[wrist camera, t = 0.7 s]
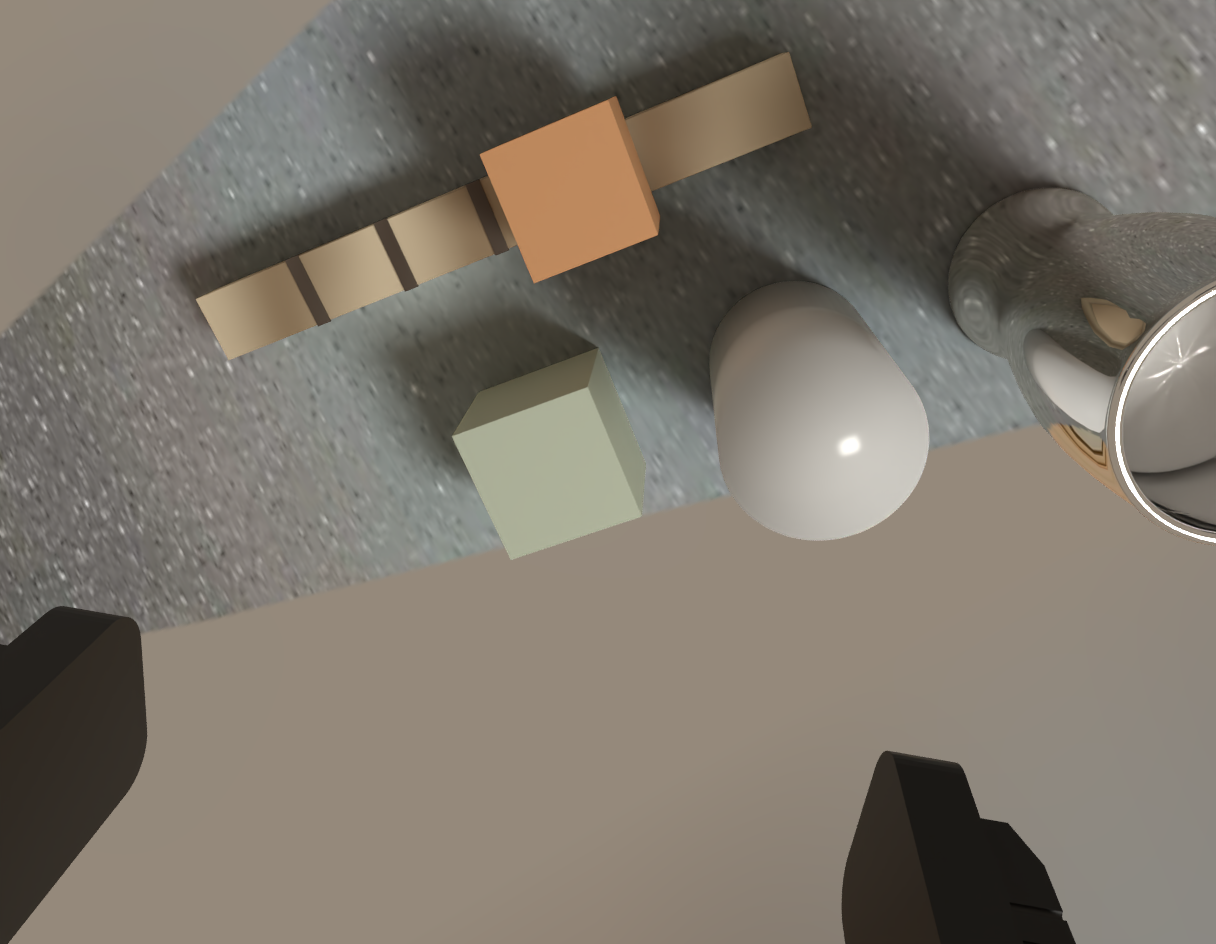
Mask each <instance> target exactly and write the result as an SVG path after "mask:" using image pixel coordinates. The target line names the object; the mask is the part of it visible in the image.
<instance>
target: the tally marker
mask: <svg viewBox="0 0 1216 944" xmlns="http://www.w3.org/2000/svg"><path fill="white" fill-rule="evenodd" d="M480 157H481V159H482V161H483V164H484V166H485V168H486V171H487V173H488V176H489V178H490V180H491V183H492V185H493V187H494V190H495V192H496V195H497V197H498V199H499V202H500V204H501V206H502V209H503V211H504V214H505V216H506V218H507V221H508V223H509V225H510V228H511V230H512V233H513V235H514V237H515V240H516V242H517V244H518V247H519V249H520V251H521V254H522V256H523V259H524V261H525V263H526V266H527V268H528V270H529V273H530V275H531V278H532V280H533V282H534V283H536V282H539V281H541V280H544V279H547V278H549V277H552V276H554V275H557V274H559V273H562V272H564V271H567V270H570V269H572V268H575V267H577V266H580V265H582V264H585V263H588V262H590V261H593V260H595V259H598V258H600V257H603V256H606V255H608V254H611V253H613V252H616V251H618V250H621V249H624V248H626V247H629V246H631V245H634V244H636V243H639V242H641V241H644V240H647V239H649V238H652V237H654V236H657V235H658V231H659V222H660V214H659V211H658V209H657V206H656V203H655V200H654V198H653V195H652V192H651V190H650V187H649V184H648V181H647V179H646V176H645V173H644V171H643V168H642V165H641V162H640V160H639V157H638V154H637V151H636V149H635V146H634V143H633V141H632V138H631V135H630V132H629V130H628V127H627V124H626V122H625V119H624V116H623V113H622V111H621V108H620V105H619V102H618V100H617V97H616V96H615V97H612V98H610V99H607V100H605V101H603V102H600V103H598V104H596V105H593V106H591V107H589V108H586V109H584V110H581V111H579V112H577V113H574V114H572V115H570V116H567V117H565V118H563V119H560V120H558V121H555V122H553V123H551V124H548V125H546V126H544V127H541V128H539V129H537V130H534V131H532V132H529V133H527V134H525V135H522V136H520V137H518V138H515V139H513V140H510V141H508V142H506V143H503V144H501V145H499V146H497V147H494V148H492V149H490V150H488V151H486V152H483V153H481V154H480Z"/></svg>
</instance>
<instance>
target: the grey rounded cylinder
mask: <svg viewBox="0 0 1216 944" xmlns="http://www.w3.org/2000/svg"><path fill="white" fill-rule="evenodd" d="M709 371H710V380H711V389H712V398H713V407H714V416H715V426H716V435H717V444H718V453H719V461H720V467H721V471H722V474H723V478H724V481H725V483H726V485H727V487H728V489H729V491H730V493H731V495H732V496H733V498H734V499H735V501H736V502H737V503H738V504H739V505H740V507H741V508H742V509H743V510H744V511H745V512H746V513H747V514H748V515H749V516H750V517H751V518H753V519H754V520H755V521H757V522H758V523H760V524H761V525H763V526H764V527H766V528H768V529H770V530H772V531H774V532H777V533H779V534H782V535H785V536H788V537H793V538H797V539H804V540H832V539H839V538H844V537H848V536H851V535H855V534H857V533H860V532H862V531H865V530H867V529H869V528H871V527H873V526H875V525H876V524H878V523H880V522H881V521H883V520H884V519H886V518H887V517H889V516H890V515H891V514H892V513H893V512H894V511H895V510H897V509H898V508H899V507H900V506H901V505H902V504H903V502H904V501H905V500H906V499H907V498H908V496H909V495H910V494H911V492H912V491H913V490H914V488H915V486H916V484H917V482H918V481H919V479H920V477H921V475H922V472H923V469H924V467H925V464H926V459H927V454H928V449H929V426H928V421H927V416H926V412H925V410H924V407H923V404H922V402H921V400H920V398H919V396H918V394H917V392H916V391H915V389H914V388H913V386H912V385H911V384H910V382H909V381H908V379H907V378H906V377H905V375H904V374H903V373H902V371H901V370H900V369H899V367H898V366H897V364H896V363H895V362H894V360H893V359H892V358H891V356H890V355H889V354H888V352H887V351H886V350H885V348H884V347H883V345H882V344H881V343H880V341H879V340H878V339H877V337H876V336H875V335H874V333H873V332H872V330H871V329H870V328H869V326H868V325H867V324H866V322H865V321H864V320H863V318H862V317H861V316H860V314H859V313H858V312H857V310H856V309H855V308H854V306H853V305H852V304H851V303H850V302H848V301H847V300H846V299H845V298H844V297H842V296H841V295H840V294H838V293H837V292H835V291H833V290H831V289H829V288H827V287H824V286H822V285H819V284H815V283H811V282H804V281H784V282H778V283H774V284H770V285H767V286H764V287H762V288H759V289H757V290H755V291H753V292H751V293H750V294H748V295H746V296H745V297H744V298H742V299H741V300H740V301H739V302H737V303H736V304H735V305H734V306H733V307H732V308H731V309H730V310H729V311H728V313H727V314H726V315H725V317H724V318H723V319H722V321H721V323H720V324H719V326H718V328H717V330H716V332H715V335H714V337H713V340H712V344H711V348H710V356H709Z"/></svg>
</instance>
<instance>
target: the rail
mask: <svg viewBox="0 0 1216 944" xmlns="http://www.w3.org/2000/svg"><path fill="white" fill-rule="evenodd" d="M625 122H626V124H627V127H628V130H629V132H630V135H631V138H632V141H633V143H634V146H635V149H636V151H637V154H638V157H639V160H640V162H641V165H642V168H643V171H644V173H645V176H646V179H647V181H648V184H649V187H650V190H651V191H654V190H656V189H659V188H661V187H664V186H666V185H669V184H671V183H674V182H676V181H679V180H681V179H684V178H686V177H689V176H691V175H694V174H696V173H699V172H701V171H704V170H706V169H709V168H711V167H714V166H716V165H719V164H721V163H724V162H726V161H729V160H731V159H734V158H736V157H739V156H741V155H744V154H746V153H749V152H751V151H754V150H756V149H759V148H761V147H764V146H766V145H769V144H771V143H774V142H776V141H779V140H781V139H784V138H786V137H789V136H791V135H794V134H796V133H799V132H801V131H804V130H806V129H809V128H812V126H811V122H810V119H809V116H808V113H807V109H806V106H805V103H804V99H803V96H802V93H801V90H800V86H799V83H798V80H797V76H796V73H795V70H794V67H793V63H792V60H791V57H790V53H789V52H785V53H781V54H778V55H776V56H774V57H771V58H769V59H766V60H764V61H762V62H759V63H757V64H755V65H752V66H750V67H747V68H745V69H743V70H740V71H738V72H735V73H733V74H731V75H728V76H726V77H723V78H721V79H719V80H716V81H714V82H711V83H709V84H707V85H704V86H702V87H699V88H697V89H695V90H692V91H690V92H687V93H685V94H683V95H680V96H678V97H675V98H673V99H671V100H668V101H666V102H663V103H661V104H659V105H656V106H654V107H651V108H649V109H647V110H644V111H642V112H639V113H637V114H635V115H632V116H630V117H627V118H625ZM516 245H518V244H517V242H516V240H515V237H514V235H513V233H512V230H511V228H510V225H509V223H508V221H507V218H506V216H505V214H504V211H503V209H502V206H501V204H500V202H499V199H498V197H497V195H496V192H495V190H494V187H493V185H492V183H491V180H490V178H489V176H486V177H484V178H481V179H479V180H476V181H474V182H472V183H469V184H467V185H464V186H462V187H460V188H457V189H455V190H452V191H450V192H448V193H445V194H443V195H440V196H438V197H436V198H433V199H431V200H428V201H426V202H424V203H421V204H419V205H416V206H414V207H412V208H409V209H407V210H404V211H402V212H400V213H397V214H395V215H392V216H390V217H388V218H385V219H383V220H380V221H378V222H376V223H373V224H371V225H368V226H366V227H364V228H361V229H359V230H356V231H354V232H352V233H349V234H347V235H344V236H342V237H340V238H337V239H335V240H333V241H330V242H328V243H325V244H323V245H321V246H318V247H316V248H313V249H311V250H309V251H306V252H304V253H301V254H299V255H297V256H294V257H292V258H289V259H287V260H285V261H282V262H280V263H277V264H275V265H273V266H270V267H268V268H265V269H263V270H261V271H258V272H256V273H253V274H251V275H249V276H246V277H244V278H241V279H239V280H237V281H234V282H232V283H229V284H227V285H225V286H222V287H220V288H218V289H216V290H214V291H212V292H210V293H207V294H205V295H203V296H201V297H199V298H197V299H196V301H197V303H198V305H199V306H200V308H201V310H202V312H203V314H204V316H205V317H206V319H207V321H208V323H209V325H210V327H211V328H212V330H213V332H214V334H215V336H216V338H217V339H218V341H219V343H220V345H221V347H222V349H223V350H224V352H225V354H226V356H227V358H228V360H231V359H233V358H236V357H238V356H241V355H243V354H246V353H248V352H251V351H253V350H256V349H258V348H261V347H263V346H266V345H268V344H271V343H273V342H276V341H278V340H281V339H283V338H286V337H288V336H291V335H293V334H296V333H298V332H301V331H303V330H306V329H308V328H311V327H313V326H316V325H318V326H320V325H323V324H325V323H328V322H330V321H331V319H333V318H336V317H338V316H341V315H343V314H346V313H348V312H351V311H353V310H356V309H358V308H361V307H363V306H366V305H368V304H371V303H373V302H376V301H378V300H381V299H383V298H386V297H388V296H391V295H393V294H396V293H398V292H401V291H403V290H405V291H408V290H410V289H413V288H415V287H418V284H421V283H423V282H426V281H428V280H431V279H433V278H436V277H438V276H441V275H443V274H446V273H448V272H451V271H453V270H456V269H458V268H461V267H463V266H466V265H468V264H471V263H473V262H476V261H478V260H481V259H483V258H486V257H488V256H491V255H493V254H495V255H498V254H501V253H503V252H506V251H508V250H509V248H511V247H514V246H516Z"/></svg>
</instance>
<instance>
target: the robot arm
mask: <svg viewBox="0 0 1216 944" xmlns="http://www.w3.org/2000/svg"><path fill="white" fill-rule="evenodd" d="M146 723H147V722H146V707H145V693H144V677H143V662H142V647H141V636H140V631H139V627H138V625H137V623H136V622H135V621H134V620H133V619H131V618H129V617H124V616H118V615H112V614H106V613H100V612H95V611H89V610H83V609H77V608H71V607H65V606H59V607H55V608H53V609H51V610H50V611H48V612H47V613H46V614H44V615H43V616H42V617H41V618H40V619H38V620H37V621H36V622H35V623H34V624H33V625H31V626H30V627H29V628H28V629H27V630H25V631H24V632H23V633H22V634H21V635H19V636H18V637H17V638H16V639H15V640H14V641H12V642H11V643H10V644H9V645H8V646H7V645H1V644H0V944H8V943H9V941H10V940H11V939H12V938H13V936H14V935H15V934H16V933H17V931H18V930H19V929H20V928H21V926H22V925H23V924H24V923H25V921H26V920H27V919H28V917H29V916H30V915H31V914H32V912H33V911H34V910H35V909H36V907H37V906H38V905H39V904H40V902H41V901H42V900H43V898H44V897H45V896H46V895H47V893H48V892H49V891H50V890H51V888H52V887H53V886H54V885H55V883H56V882H57V881H58V880H59V878H60V877H61V876H62V875H63V873H64V872H65V871H66V869H67V868H68V867H69V866H70V864H71V863H72V862H73V860H74V859H75V858H76V857H77V856H78V854H79V853H80V852H81V851H82V849H83V848H84V847H85V845H86V844H87V843H88V842H89V840H90V839H91V838H92V837H93V835H94V834H95V833H96V832H97V830H98V829H99V828H100V826H101V825H102V824H103V823H104V821H105V820H106V819H107V818H108V816H109V815H110V814H111V813H112V811H113V810H114V809H115V808H116V806H117V805H118V804H119V803H120V801H121V800H122V799H123V797H124V796H125V795H126V793H127V792H128V790H129V789H130V787H131V786H132V784H133V783H134V780H135V778H136V776H137V774H138V772H139V769H140V767H141V764H142V761H143V757H144V753H145V748H146V741H147V724H146ZM1062 912H1063V911H1062V908H1061V906H1060V903H1059V901H1058V899H1057V896H1056V893H1055V891H1054V889H1053V886H1052V884H1051V881H1050V879H1049V876H1048V874H1047V871H1046V869H1045V866H1044V865H1043V864H1042V863H1041V861H1040V860H1039V859H1038V858H1037V857H1036V855H1035V854H1034V853H1033V852H1032V851H1031V850H1030V848H1029V847H1028V846H1027V845H1026V844H1025V843H1024V841H1023V840H1022V839H1021V838H1020V837H1019V836H1018V834H1017V833H1016V832H1015V831H1014V830H1013V829H1012V827H1011V826H1010V825H1009V824H1008V823H1004V822H998V821H993V820H987V819H982V818H980V816H979V813H978V810H977V807H976V804H975V801H974V798H973V796H972V793H971V790H970V787H969V784H968V781H967V778H966V775H965V773H964V771H963V769H962V767H961V766H960V765H959V764H958V763H955V762H949V761H943V760H937V759H932V758H926V757H920V756H914V755H908V754H902V753H897V752H891V751H885V752H883V753H882V755H881V756H880V758H879V760H878V762H877V764H876V767H875V770H874V774H873V777H872V780H871V784H870V787H869V790H868V793H867V796H866V799H865V803H864V806H863V809H862V812H861V816H860V819H859V822H858V825H857V829H856V832H855V835H854V839H853V842H852V845H851V848H850V852H849V855H848V858H847V862H846V867H845V872H844V878H843V887H842V923H843V930H844V937H845V944H1076V943H1075V941H1074V938H1073V936H1072V933H1071V931H1070V928H1069V926H1068V923H1067V921H1064V920H1063V919H1062Z"/></svg>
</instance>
